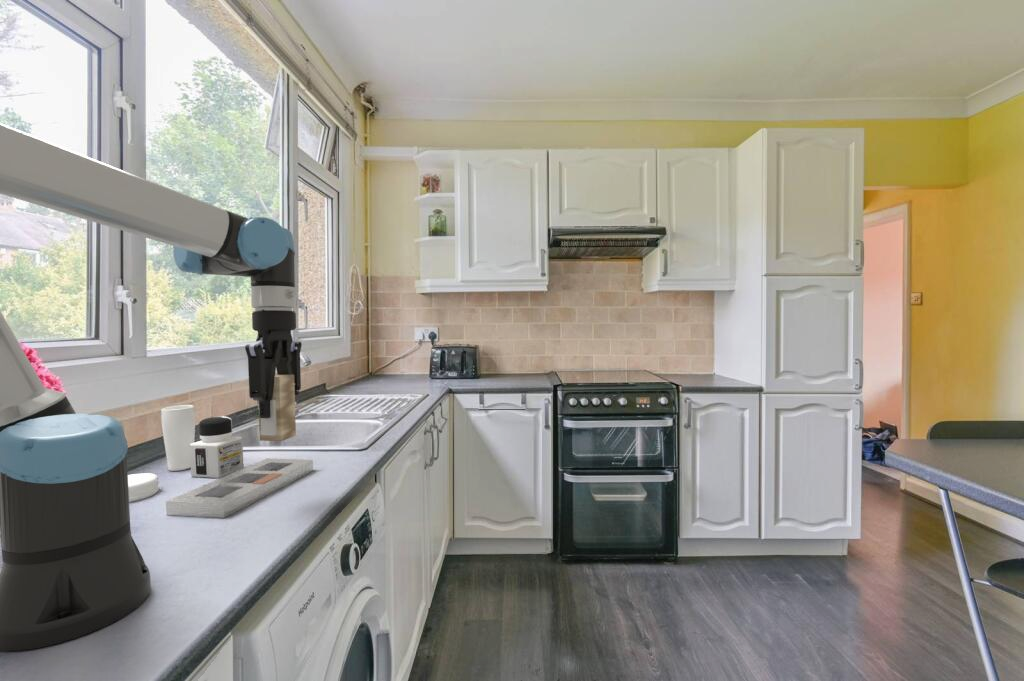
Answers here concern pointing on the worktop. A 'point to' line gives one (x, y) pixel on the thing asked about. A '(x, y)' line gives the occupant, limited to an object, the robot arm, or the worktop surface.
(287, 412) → the beech peg
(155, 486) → the coaster
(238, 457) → the container
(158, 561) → the worktop surface
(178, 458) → the drinking glass
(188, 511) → the slotted peg board
